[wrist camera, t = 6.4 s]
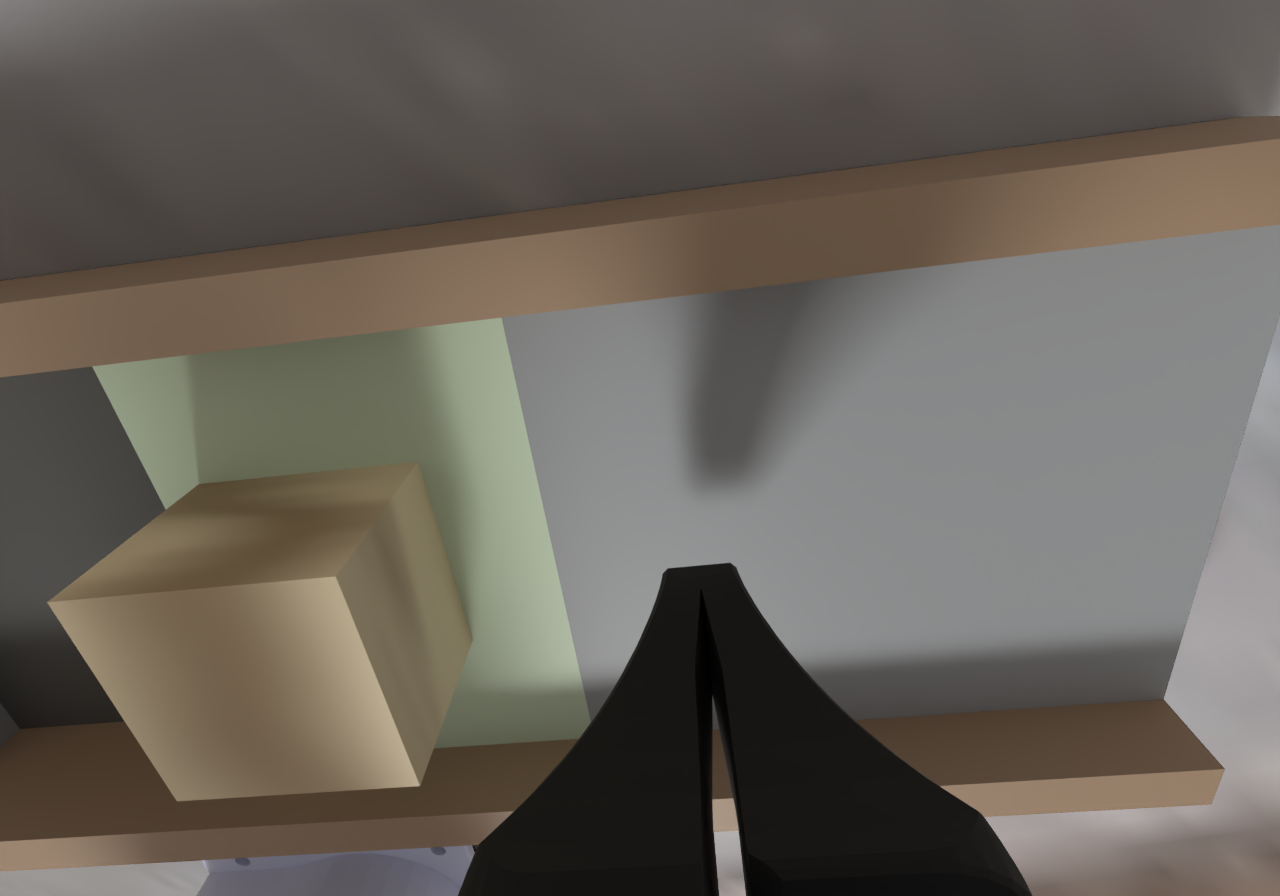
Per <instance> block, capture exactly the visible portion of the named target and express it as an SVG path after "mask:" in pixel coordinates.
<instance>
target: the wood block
mask: <svg viewBox="0 0 1280 896" xmlns="http://www.w3.org/2000/svg"><path fill="white" fill-rule="evenodd" d="M47 603H48V604H49V606H50V608H51V609H52V611H53V612H54V614H55V615H56V617H57V618H58V620H59V621H60V623H61V624H62V626H63V627H64V629H65V631H66V632H67V634H68V635H69V637H70V638H71V640H72V641H73V643H74V644H75V646H76V647H77V649H78V650H79V652H80V654H81V655H82V657H83V658H84V660H85V661H86V663H87V664H88V666H89V667H90V669H91V670H92V672H93V673H94V675H95V677H96V678H97V680H98V681H99V683H100V684H101V686H102V687H103V689H104V690H105V692H106V693H107V695H108V696H109V698H110V700H111V701H112V703H113V704H114V706H115V707H116V709H117V710H118V712H119V713H120V715H121V716H122V718H123V719H124V721H125V723H126V724H127V726H128V727H129V729H130V730H131V732H132V733H133V735H134V736H135V738H136V739H137V741H138V742H139V744H140V746H141V747H142V749H143V750H144V752H145V753H146V755H147V756H148V758H149V759H150V761H151V762H152V764H153V765H154V767H155V769H156V770H157V772H158V773H159V775H160V776H161V778H162V779H163V781H164V782H165V784H166V785H167V787H168V789H169V790H170V792H171V793H172V795H173V796H174V798H175V799H176V801H191V800H207V799H222V798H238V797H254V796H270V795H286V794H302V793H318V792H334V791H350V790H366V789H382V788H398V787H414V786H420V785H421V782H422V779H423V777H424V774H425V771H426V768H427V766H428V763H429V760H430V757H431V755H432V752H433V749H434V746H435V743H436V741H437V738H438V735H439V732H440V730H441V727H442V724H443V721H444V719H445V716H446V713H447V710H448V708H449V705H450V702H451V699H452V696H453V694H454V691H455V688H456V685H457V683H458V680H459V677H460V674H461V672H462V669H463V666H464V663H465V661H466V658H467V655H468V652H469V649H470V647H471V644H472V641H473V639H472V636H471V633H470V629H469V626H468V623H467V620H466V616H465V613H464V610H463V607H462V603H461V600H460V597H459V594H458V590H457V587H456V584H455V581H454V577H453V574H452V571H451V568H450V564H449V561H448V558H447V554H446V551H445V548H444V545H443V541H442V538H441V535H440V532H439V528H438V525H437V522H436V519H435V515H434V512H433V509H432V506H431V502H430V499H429V496H428V493H427V489H426V486H425V483H424V479H423V476H422V473H421V470H420V466H419V463H418V462H410V463H400V464H390V465H381V466H371V467H361V468H351V469H342V470H332V471H322V472H312V473H303V474H293V475H283V476H273V477H264V478H254V479H244V480H234V481H224V482H215V483H205V484H198V485H197V486H196V487H194V488H193V489H192V490H191V491H189V492H188V493H187V494H185V495H184V496H183V497H182V498H180V499H179V500H178V501H176V502H175V503H174V504H173V505H171V506H170V507H169V508H167V509H166V510H165V511H164V512H162V513H161V514H160V515H159V516H157V517H156V518H155V519H153V520H152V521H151V522H150V523H148V524H147V525H146V526H144V527H143V528H142V529H141V530H139V531H138V532H137V533H135V534H134V535H133V536H132V537H130V538H129V539H128V540H126V541H125V542H124V543H123V544H121V545H120V546H119V547H117V548H116V549H115V550H114V551H112V552H111V553H110V554H108V555H107V556H106V557H105V558H103V559H102V560H101V561H99V562H98V563H97V564H96V565H94V566H93V567H92V568H90V569H89V570H88V571H87V572H85V573H84V574H83V575H81V576H80V577H79V578H78V579H76V580H75V581H74V582H72V583H71V584H70V585H69V586H67V587H66V588H65V589H63V590H62V591H61V592H60V593H58V594H57V595H56V596H55V597H53V598H52V599H51V600H49V601H48V602H47Z"/></svg>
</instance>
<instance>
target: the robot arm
mask: <svg viewBox="0 0 1280 896" xmlns="http://www.w3.org/2000/svg"><path fill="white" fill-rule="evenodd" d="M712 695H713V697H712ZM713 700H714V705H715V710H716V715H717V720H718V725H719V730H720V735H721V740H722V745H723V750H724V755H725V759H726V764H727V769H728V774H729V779H730V784H731V789H732V794H733V799H734V804H735V810H736V816H737V822H738V829H739V837H740V846H741V854H742V863H743V872H744V881H745V889H746V896H1032V894H1031V892H1030V890H1029V888H1028V886H1027V884H1026V882H1025V880H1024V878H1023V876H1022V875H1021V873H1020V871H1019V869H1018V868H1017V866H1016V864H1015V863H1014V861H1013V860H1012V858H1011V857H1010V855H1009V853H1008V852H1007V850H1006V849H1005V847H1004V846H1003V844H1002V842H1001V841H1000V839H999V838H998V837H997V835H996V834H995V832H994V831H993V829H992V828H991V826H990V825H989V824H988V822H987V821H986V819H985V818H984V817H983V815H982V814H981V813H980V812H979V811H977V810H976V809H974V808H973V807H971V806H969V805H968V804H966V803H965V802H963V801H962V800H960V799H959V798H957V797H955V796H954V795H952V794H951V793H949V792H948V791H946V790H945V789H943V788H941V787H940V786H938V785H937V784H935V783H934V782H932V781H931V780H929V779H927V778H926V777H925V776H923V775H922V774H921V773H919V772H918V771H917V770H915V769H914V768H913V767H911V766H910V765H909V764H907V763H906V762H905V761H903V760H902V759H901V758H899V757H898V756H897V755H895V754H894V753H893V752H892V751H890V750H889V749H888V748H887V747H886V746H884V745H883V744H882V743H881V742H880V741H878V740H877V739H876V738H875V737H874V736H873V735H871V734H870V733H869V732H868V731H867V730H865V729H864V728H863V727H862V726H861V725H859V724H858V723H857V722H856V721H855V720H854V719H852V718H851V717H850V716H849V715H848V714H847V713H846V712H845V711H844V710H843V709H842V708H841V707H840V706H839V705H838V704H837V703H836V702H835V701H834V700H832V698H831V697H830V696H829V695H828V694H827V693H826V692H825V691H824V690H823V689H822V688H821V687H820V686H819V685H818V684H817V683H816V682H815V681H814V680H813V679H812V678H811V676H810V675H809V674H808V673H807V672H806V671H805V670H804V669H803V667H802V666H801V665H800V664H799V663H798V661H797V660H796V659H795V658H794V657H793V655H792V654H791V653H790V652H789V651H788V649H787V648H786V647H785V646H784V644H783V643H782V642H781V640H780V639H779V638H778V636H777V635H776V634H775V632H774V631H773V629H772V628H771V627H770V625H769V624H768V622H767V621H766V619H765V618H764V617H763V615H762V614H761V612H760V611H759V609H758V608H757V606H756V604H755V603H754V601H753V599H752V598H751V596H750V594H749V593H748V591H747V589H746V587H745V586H744V584H743V582H742V580H741V577H740V575H739V573H738V570H737V567H735V566H734V565H733V564H732V563H721V564H710V565H699V566H688V567H677V568H668V569H667V570H666V571H665V572H664V573H663V574H662V580H661V584H660V588H659V591H658V595H657V598H656V601H655V603H654V606H653V609H652V612H651V614H650V617H649V619H648V621H647V624H646V626H645V628H644V631H643V633H642V635H641V637H640V640H639V642H638V644H637V646H636V648H635V650H634V652H633V654H632V656H631V658H630V659H629V661H628V663H627V665H626V667H625V669H624V671H623V673H622V675H621V676H620V678H619V680H618V682H617V683H616V685H615V687H614V688H613V690H612V692H611V693H610V695H609V697H608V698H607V700H606V701H605V703H604V704H603V706H602V707H601V709H600V710H599V712H598V713H597V715H596V716H595V718H594V719H593V720H592V722H591V723H590V724H589V726H588V727H587V728H586V730H585V731H584V733H583V734H582V735H581V737H580V738H579V739H578V741H577V742H576V743H575V745H574V746H573V747H572V748H571V750H570V751H569V752H568V753H567V755H566V756H565V757H564V758H563V759H562V760H561V762H560V763H559V764H558V765H557V766H556V767H555V768H554V769H553V771H552V772H551V773H550V774H549V775H548V776H547V777H546V778H545V779H544V781H543V782H542V783H541V784H540V785H539V786H538V787H537V788H536V790H535V791H534V792H533V793H532V794H531V795H530V796H529V797H528V798H527V799H526V800H525V801H524V802H523V803H522V804H521V805H520V806H519V807H518V808H517V809H516V810H515V811H514V812H513V813H512V814H511V815H509V816H508V817H507V818H506V819H505V820H504V821H503V822H502V823H501V824H500V825H499V826H498V827H497V828H496V829H495V830H494V831H493V832H492V833H490V834H489V835H488V836H487V837H486V838H485V839H484V840H483V841H482V842H480V843H479V845H478V847H477V849H476V852H474V849H473V847H472V845H468V846H450V847H432V848H414V849H396V850H378V851H360V852H342V853H324V854H306V855H288V856H270V857H252V858H234V859H216V860H202V861H203V864H204V865H205V867H206V868H207V870H208V871H209V873H210V874H209V876H208V878H207V879H206V881H205V883H204V884H203V886H202V888H201V889H200V891H199V893H198V894H197V896H719V890H718V878H717V867H716V855H715V843H714V832H713V807H712V762H713Z"/></svg>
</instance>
